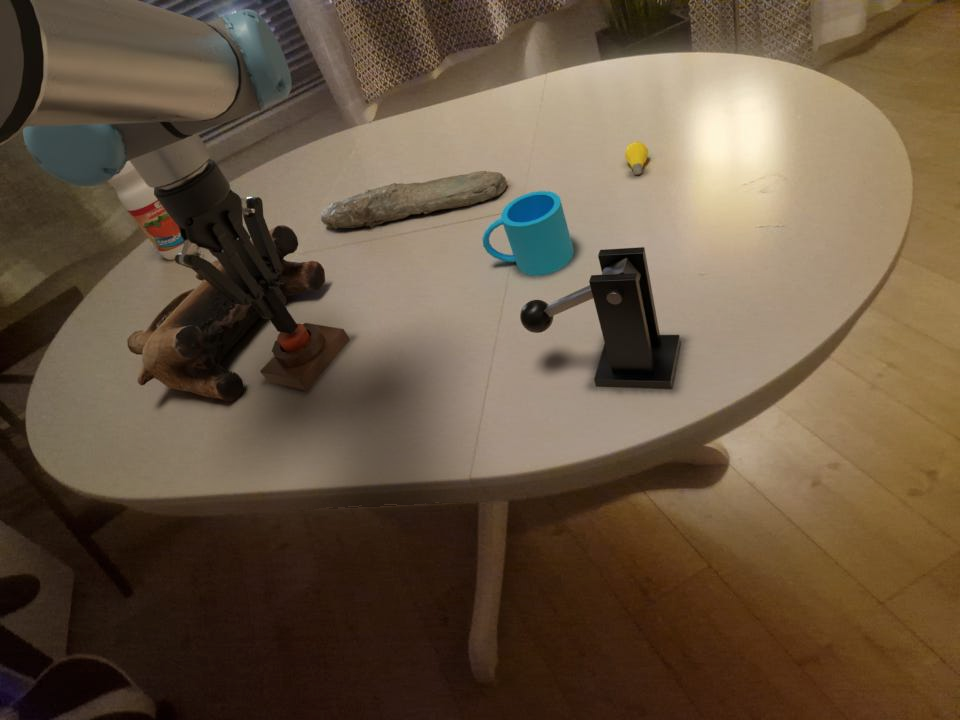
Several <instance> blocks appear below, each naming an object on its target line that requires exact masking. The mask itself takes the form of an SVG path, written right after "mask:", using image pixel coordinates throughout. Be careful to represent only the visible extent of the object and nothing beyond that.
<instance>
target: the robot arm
mask: <svg viewBox="0 0 960 720" xmlns="http://www.w3.org/2000/svg"><path fill="white" fill-rule="evenodd" d="M291 75H292V74H291V71H290V67H289V65H288V62H287V59H286V56H285V54H284V52H283V49H282V47H281V45H280V42H279V41H278V39H277V37H276V34H275V33H274V32H273V30H272V28H271V26H270V24H268V23H267V21H266V20H265V18H264V17H262V15H261V14H259V13H258V12H257V11H255V10H253V9H248V8H247V9H246V8H245V9H242V10H238V11H236V12H232V13H229V14H225V13H223V14H220V16H219V18H216V19H214V20H212V21H209V22H205V21H201V20H198V19H195V18H193V17H190V16H187V15H183V14H181V13H178V12H175V11H171V10H169V9H166V8H162V7H160V6H156V5H154V4H150V3H147V2H144V1H141V0H0V146H2V145H4V144H5V143H7V142H9V141H10V140H12V139H14V138H15V137H17V135H19V134H20V133H21V132H22V135H23V140H24V144H25V146H26V149H27V150H28V152H29V154H30V155H31V157H32V158H33V160H34V161H35V162H36V163H37V164H38V165H39V166H40V168H42V169H43V170H44V171H45V172H46V173H47V174H49V175H50V176H52V177H53V178H55V179H57V180H59V181H61V182H64V183H66V184H69V185H73V186H76V187H96V186H101V185H103V184H105V183H108V182H107V181H109V180H110V179H111V178H112V177H113V176H114V175H116V174H118V173H120V171H121V170H122V169H123V168H124V166H125V164H126V162H127V161H130V162H131V163H132V165H133V166H134V168H135V169H136V170H137V172H138V173H139V174H140V176H141V177H142V178H143V180H144V181H145V183H146V184H147V185H148V186H149V187H152V188H154V195H155V197H156V198H157V199H158V201H159V202H160V203H161V205H162V206H163V208H164V209H165V210H166V212H167V213H168V214H169V216H170V217H171V218H172V219H173V220H174V221H175V222H176V224H177V225H178V227H179V229H180V235H181V237H182V239H183V240H184V241H185V242H184V245H183V249H182V253H181V254H177V255H176V256H175V259H174V261H175V263H176V264H178V265H180V266H183V267H185V268H187V269H188V268H189V269H191V270H193V271H194V272H195V273H196V275H197V274H198V275H200V276H201V277H202V278H203V279H204V280H206V281H207V282H208V283H209V284H210V285H212V286H213V287H214V288H215V289H216V290H218V291H219V292H220V293H221V294H222V295H224V296H225V297H226V298H227V299H228V300H230V301H231V302H232V303H234V304H240V305H249V304H250V303H251V304H252V305H253V307H254V308H255V310H256V311H257V312H258V314H259V315H260V317H259V318H262V319H266V320H269V321H270V322H271V324H272V325H273V327H274V328H275V329H276V331H277V332H278V333H280V332H283V333H289V334H292V333H293V332H294V331H295V329H296V328H297V327H298V325H297V324H296V321H295V319H294V317H293V316H292V315H291V313H290V312H289V310H288V308H287V307H286V306H285V305H286V304H287V302H288V301H287V297H285V296H284V295H283V293H282V292H281V290H280V289H279V287H278V286H279V285H280V279H276V278H277V276H278V274H280V273H282V271H283V268H282V265H281V262H280V259H279V257H278V254H277V251H276V249H275V246H274V243H273V240H272V238H271V235H270V232H269V230H270V229H269V227H268V224H267V222H266V219H265V217H264V205H263V200H262V198H261V197H259V196H243V197H241V196H240V195H239V194H238V193H236V192H234V191H233V190H232V189H231V184H230V182H229V181H228V179H227V178H226V176H225V175H224V173H223V172H222V170H221V169H220V167H219V165H218V163H217V162H216V161H215V160H213V159H211V158H210V155H211V152H210V150H209V149H208V147H207V145H206V144H205V143H204V142H203V140H202V138H201V136H200V135H199V134H198V133H201V132H204V131H206V130H209V129H211V128H214V127H217V126H220V125H223V124H225V123H229V122H231V121H234V120H236V119H239V118H242V117H244V116H247V115H250V114H252V113H255V112H257V111H258V112H262V111H265V109H266V108H267V107H270V106H271V105H274V104H276V103H279V102H281V101H283V100H284V99H287V98H288V97H289V95H290V93H291V91H292V85H293V84H292V83H293V82H292V76H291ZM243 221H244V222H243ZM244 223H245V226H246V227H245V226H244ZM246 229H247V230H246ZM251 239H252V242H253V244H252V242H251V241H250V240H251ZM197 246H199V247H200V248H201V249H205V250H207V251H209V253H210V254H211V255H212V256H213V257H215V258H216V259H217V260H219V262H220V263H221V265H222V266H223V268H224V269H225V270H226V272H227V273H228V275H229V276H230V277H231V279H232V280H233V282H234V283H235V284H234V283H233V282H232V281H231V280H230V279H229V278H228V277H226V276H225V275H224V274H223V273H222V272H221V271H219V270H218V269H217V268H216V267H215V266H214V265H213V264H211V263H212V262H211V261H208V260H207V259H205V257H204V254H203V252H201V250H199V247H198V248H197ZM236 253H237V254H238V255H237V254H236ZM238 256H239V257H240V258H239V257H238ZM240 259H241V260H242V261H241V260H240ZM242 262H243V263H244V264H243V263H242ZM244 265H245V266H246V267H245V266H244ZM246 268H247V269H248V270H249V272H250V273H251V275H252V276H253V277H252V276H251V275H250V273H249V272H248V270H247V269H246ZM253 278H254V279H255V280H254V279H253ZM255 281H256V282H257V283H256V282H255ZM257 284H258V285H261V286H262V287H259V286H258V285H257Z"/></svg>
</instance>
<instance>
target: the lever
mask: <svg viewBox="0 0 960 720" xmlns="http://www.w3.org/2000/svg"><path fill="white" fill-rule="evenodd" d="M631 273H637V275H638V280H640V276H641V274H640V273H639V272H638V271H637V269H636V268H635V267H634V266H633V265H632V263H631V262H630V261H629V260H628V258H625V259H623V260H621V261H619V262H617V263H615V264H613V265H611V266H608V267H606V268H604V269H603V272H602V271H601V275H607V274H631ZM590 300H594V299H593V295H592V291H591V287H590V284H589V285H586V286H585V287H583V288H580V289H578V290H576V291H574V292H572V293H569V294H567V295H565V296H563V297H560V298H559V299H556V300H554V301H552V302H550V303H547V302H546V301H544V300H542V299H532V300H529V301H528V302H526V303H525V304H524V305H523V307H522V308H521V311H520V314H519V318H520V322H521V325H522V327H523V328H524V329H525V330H527V331H528V332H530V333H532V334H533V333H534V334H538V333H543V332H545V331H547V330H548V329H549V328H550V327H551V326H552V324H553V321H554V316H556V315H558V314H561V313H563V312H565V311H568V310H571V309H572V308H574V307H577V306H579V305H582V304H583V303H586V302H588V301H590Z"/></svg>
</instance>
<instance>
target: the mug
mask: <svg viewBox="0 0 960 720" xmlns="http://www.w3.org/2000/svg"><path fill="white" fill-rule="evenodd" d="M502 225H503V228H504V232H505V234H506V237H507V240H508V243H509V246H510V249H511V252H512V254H506V253H503V252H500V251H498V250H497V249H495V248H494V247H493V246H492V244H491V243H490V237H491V234H492V233H493V232H494V230H495V229H497V228H499V227H500V226H502ZM481 239H482V246H483V248H484V250H485V251H486V253H487V254H488V255H490V256H491V257H492V258H493V259H496V260H500V261H502V262H509V263H515V264H516V267H517V268H518V270H519V272H521V273H522V274H524V275H526V276H533V277H537V276H545V275H549V274H553V273H555V272H557V271H559V270H561V269H563V268H564V267H565V266H566V265H568V264H569V263H570V261H571V260H572V259H573V257H574V254H575V250H574V246H573V241H572V238H571V235H570V230H569V226H568V222H567V219H566V216H565V212H564V208H563V203H562V200H561V197H560V196H559V195H558V194H557V193H556V192H553V191H550V190H549V191H548V190H539V191H532V192H528V193H525V194H523V195H520V196H518V197H516V198H515V199H513V200H512V201H509V203H507V205H505V207H503V209H502V211H501V213H500V218H497V219H496V220H494V221H493V222H492V223H490V224H489V225H488V227H487V228H486V229H485V230H484V232H483V235H482V238H481Z"/></svg>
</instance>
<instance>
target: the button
mask: <svg viewBox="0 0 960 720" xmlns="http://www.w3.org/2000/svg"><path fill="white" fill-rule="evenodd" d="M296 324H297V325H298V327H297V328H296V329H295V331H294V332H293V333H292V334H289V333H283V332H278V333H279V334H278V335H277V338H276V340H277V341H278V343H279V344H280V345H281V347H282V348H283V350H284V351H285V352H288V353H289V352H293V351H296V350H298V349H300V348H301V347H303V346H304V345H305V344H306V343H307V342H308V341H309V340H310V334H309V333H308V331H307V330H306V328H305V327H304V325H302V324H303V323H299V322H298V323H296Z"/></svg>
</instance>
